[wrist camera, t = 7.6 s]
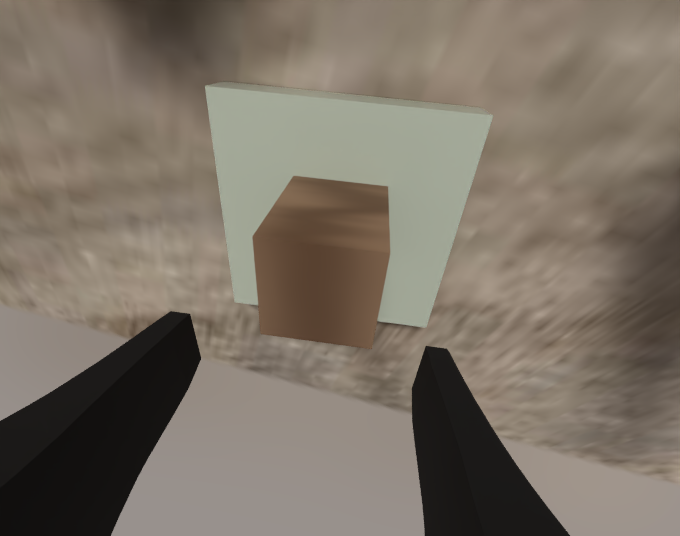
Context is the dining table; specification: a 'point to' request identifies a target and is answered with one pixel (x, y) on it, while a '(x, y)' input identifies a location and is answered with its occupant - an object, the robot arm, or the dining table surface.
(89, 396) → the robot arm
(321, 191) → the walnut block
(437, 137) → the pale green block
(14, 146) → the dining table surface
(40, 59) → the dining table surface
